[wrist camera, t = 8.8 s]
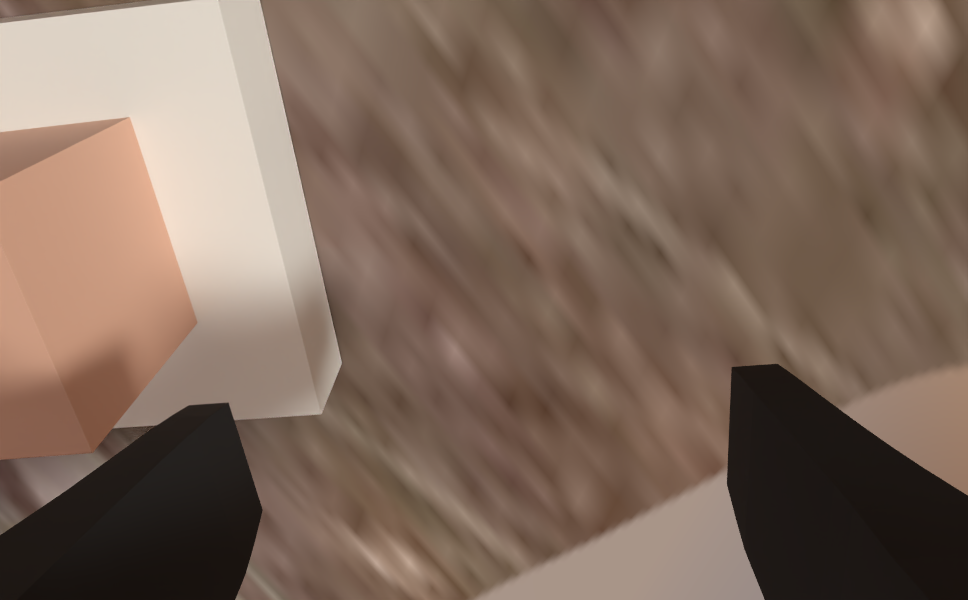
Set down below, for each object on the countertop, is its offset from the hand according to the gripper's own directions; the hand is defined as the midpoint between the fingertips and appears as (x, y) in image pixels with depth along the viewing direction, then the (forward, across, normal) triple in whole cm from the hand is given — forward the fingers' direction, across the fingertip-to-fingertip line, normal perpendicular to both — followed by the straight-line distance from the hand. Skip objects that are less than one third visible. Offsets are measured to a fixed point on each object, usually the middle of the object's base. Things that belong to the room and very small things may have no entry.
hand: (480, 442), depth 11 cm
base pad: (+9, +10, -1) cm, 14 cm away
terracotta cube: (+7, +10, -1) cm, 12 cm away
